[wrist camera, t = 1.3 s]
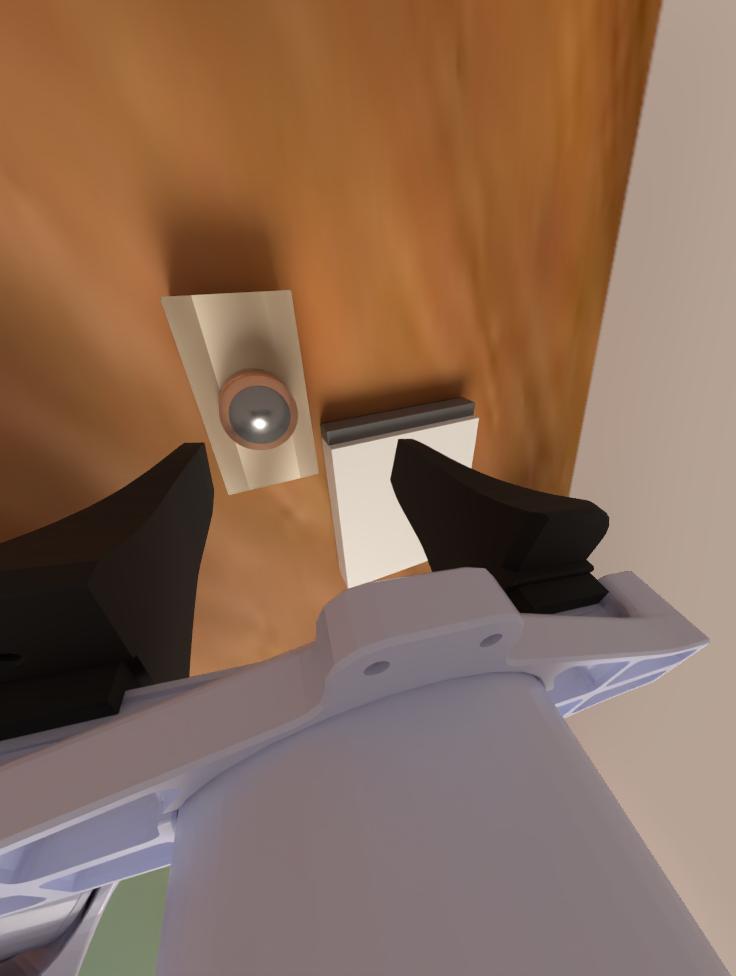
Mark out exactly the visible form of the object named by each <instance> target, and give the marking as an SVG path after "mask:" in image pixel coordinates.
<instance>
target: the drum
mask: <svg viewBox="0 0 736 976" xmlns="http://www.w3.org/2000/svg"><path fill="white" fill-rule="evenodd" d="M219 417H220V422H221V424H222V427H223V429H224V431H225V432H226V433H227V435H228V436H229V437H230V438H231V439H232V440H233V441H234V442H236V443H237V444H239V445H241V446H243V447H245V448H248V449H252V450H269V449H273V448H275V447H278V446H280V445H282V444H283V443H284V442H286V441H287V440H288V439H289V438H290V437H291V435H292V434H293V432H294V430H295V428H296V425H297V422H298V409H297V405H296V402H295V400H294V398H293V396H292V395H291V393H290V392H289V390H288V389H287V388H286V387H285V385H284V384H283V383H282V382H281V381H280V379H278V378H277V377H276V376H275V375H273V374H272V373H269V372H267V371H265V370H261V369H254V368H251V369H243V370H240V371H238V372H236V373H234V374H232V375H231V376H230V377H229V378H228V379H227V380H226V381H225V382H224V384H223V385H222V387H221V390H220V393H219Z"/></svg>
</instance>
